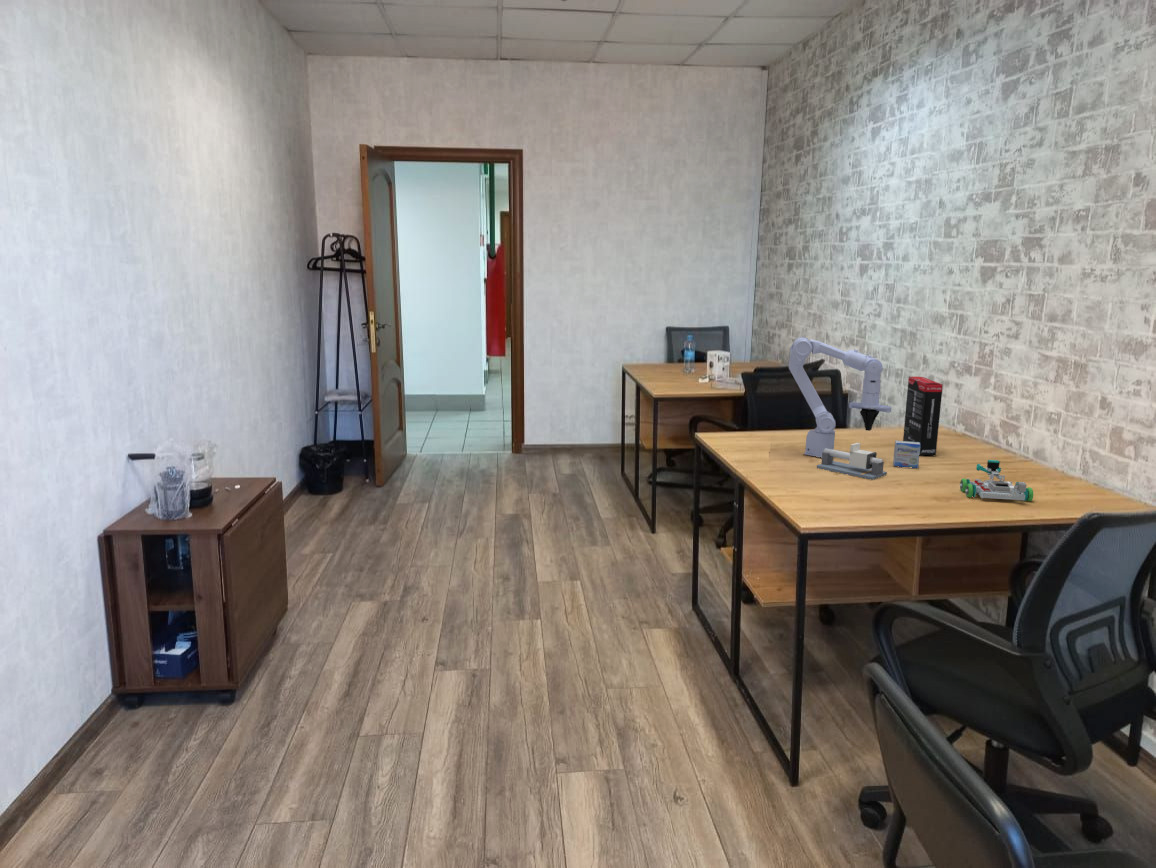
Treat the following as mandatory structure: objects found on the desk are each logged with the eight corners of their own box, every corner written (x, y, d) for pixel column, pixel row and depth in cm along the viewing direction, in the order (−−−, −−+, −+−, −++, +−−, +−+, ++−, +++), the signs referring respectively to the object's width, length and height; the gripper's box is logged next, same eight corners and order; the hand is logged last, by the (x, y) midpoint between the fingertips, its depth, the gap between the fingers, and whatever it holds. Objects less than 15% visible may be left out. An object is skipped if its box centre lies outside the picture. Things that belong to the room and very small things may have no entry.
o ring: (865, 469, 260) (866, 454, 259) (872, 466, 264) (874, 451, 262) (868, 470, 259) (869, 454, 258) (875, 467, 263) (877, 452, 262)
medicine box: (893, 467, 273) (896, 442, 272) (892, 464, 278) (895, 439, 276) (918, 469, 271) (920, 444, 269) (916, 465, 275) (919, 441, 274)
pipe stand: (816, 468, 270) (818, 450, 269) (831, 463, 277) (833, 445, 276) (872, 480, 256) (874, 461, 255) (886, 474, 263) (888, 456, 262)
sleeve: (848, 465, 264) (850, 444, 263) (855, 462, 268) (857, 442, 266) (865, 468, 260) (867, 447, 259) (872, 466, 263) (874, 445, 262)
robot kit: (1009, 483, 255) (1013, 455, 253) (1037, 506, 231) (1042, 475, 229) (947, 480, 259) (951, 452, 257) (969, 502, 235) (973, 471, 233)
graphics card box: (937, 457, 288) (945, 383, 283) (917, 456, 289) (925, 382, 283) (918, 446, 305) (925, 376, 299) (900, 446, 305) (907, 376, 299)
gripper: (846, 391, 282) (844, 429, 285) (886, 395, 272) (883, 434, 275) (855, 389, 287) (852, 426, 290) (895, 393, 277) (892, 431, 280)
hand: (868, 430), depth 283 cm, fingers closed
